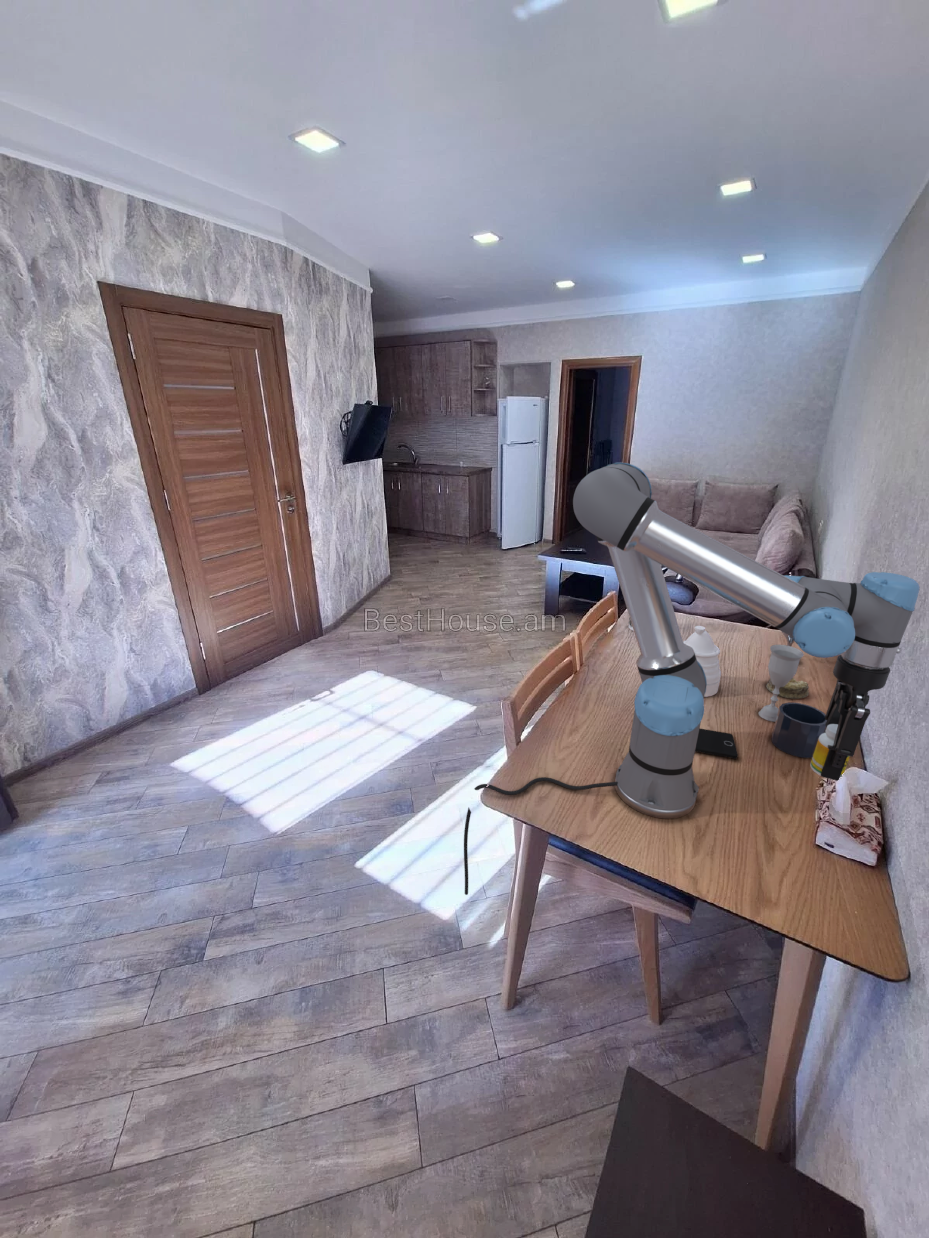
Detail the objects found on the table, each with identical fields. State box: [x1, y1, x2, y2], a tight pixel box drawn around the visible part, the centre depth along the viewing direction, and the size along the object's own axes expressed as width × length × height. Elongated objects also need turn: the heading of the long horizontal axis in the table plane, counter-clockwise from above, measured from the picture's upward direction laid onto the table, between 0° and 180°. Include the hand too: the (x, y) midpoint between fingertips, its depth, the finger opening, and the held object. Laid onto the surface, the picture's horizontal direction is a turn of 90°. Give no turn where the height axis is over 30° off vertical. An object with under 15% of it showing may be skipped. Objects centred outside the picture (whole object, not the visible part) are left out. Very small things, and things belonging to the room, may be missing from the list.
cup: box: [771, 701, 827, 759], centre depth 113 cm, size 9×9×8 cm
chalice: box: [758, 644, 804, 723], centre depth 122 cm, size 7×7×18 cm
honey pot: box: [683, 625, 722, 698], centre depth 137 cm, size 13×13×18 cm
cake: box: [765, 677, 810, 700], centre depth 136 cm, size 10×10×5 cm
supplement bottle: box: [809, 724, 851, 780], centre depth 95 cm, size 5×5×10 cm
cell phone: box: [695, 727, 739, 760], centre depth 116 cm, size 9×18×1 cm, turn 71°
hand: (826, 767), depth 97 cm, fingers closed on supplement bottle, 5 cm apart
